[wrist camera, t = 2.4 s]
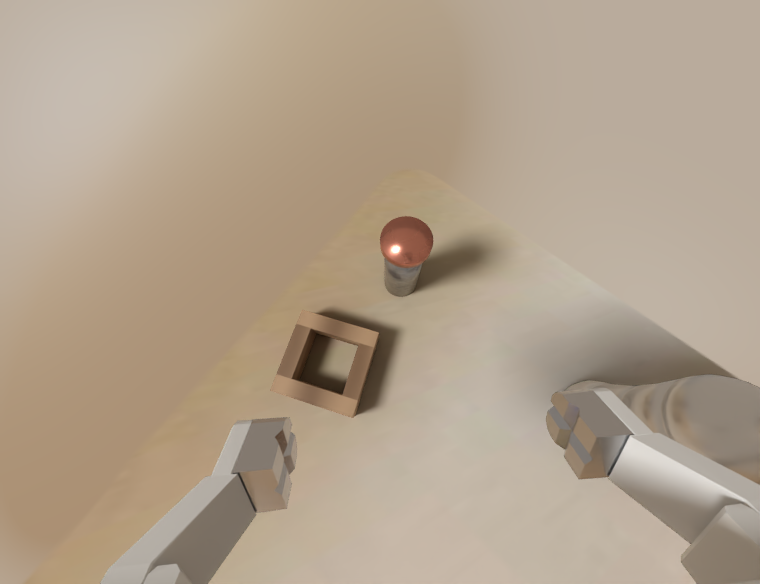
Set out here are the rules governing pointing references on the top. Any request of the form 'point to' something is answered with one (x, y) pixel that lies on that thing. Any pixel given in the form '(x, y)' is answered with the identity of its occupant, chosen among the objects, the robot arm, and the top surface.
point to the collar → (298, 355)
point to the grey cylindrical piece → (404, 253)
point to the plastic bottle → (700, 416)
